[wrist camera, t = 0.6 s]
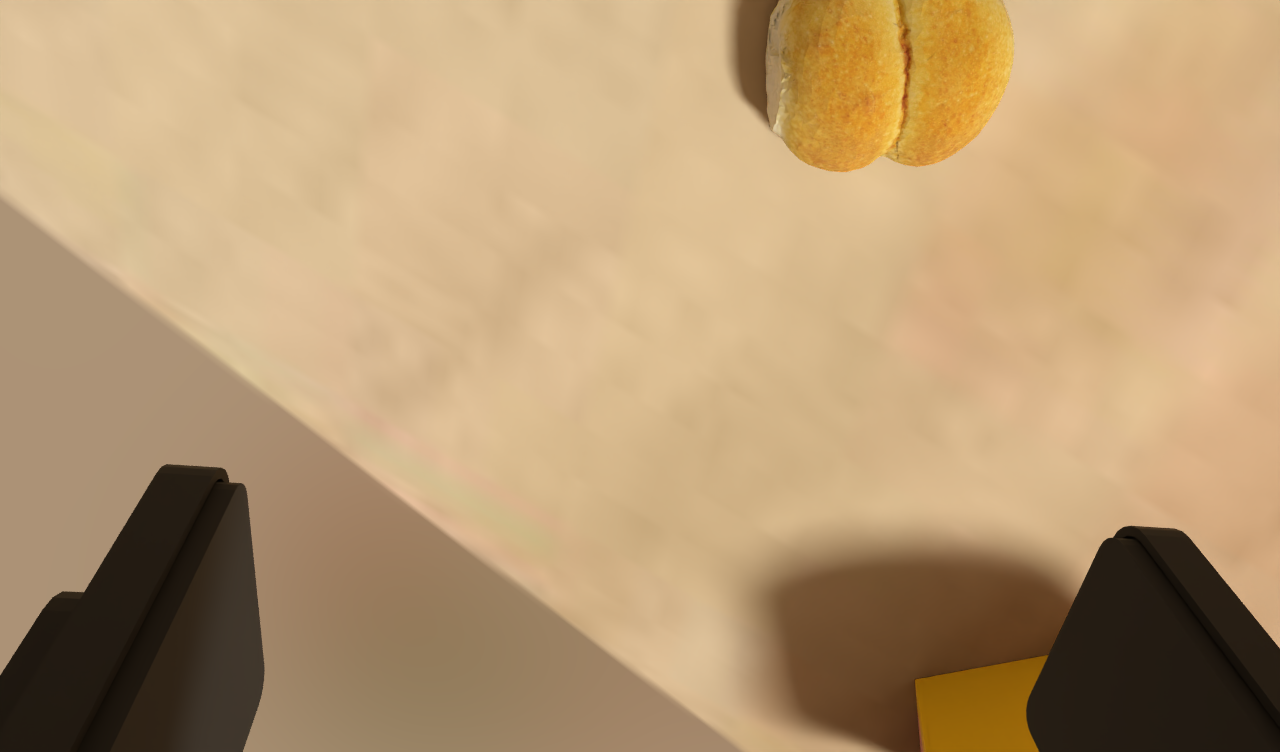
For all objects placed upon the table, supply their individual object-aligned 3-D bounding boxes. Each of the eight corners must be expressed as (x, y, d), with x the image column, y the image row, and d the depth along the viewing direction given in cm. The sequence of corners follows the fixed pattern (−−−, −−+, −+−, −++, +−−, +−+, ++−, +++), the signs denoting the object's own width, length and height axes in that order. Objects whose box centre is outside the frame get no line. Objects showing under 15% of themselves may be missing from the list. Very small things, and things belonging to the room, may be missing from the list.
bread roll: (982, 149, 40) (1020, 184, 36) (761, 163, 39) (778, 199, 36) (1013, -75, 35) (1060, -59, 32) (765, -60, 35) (785, -43, 32)
